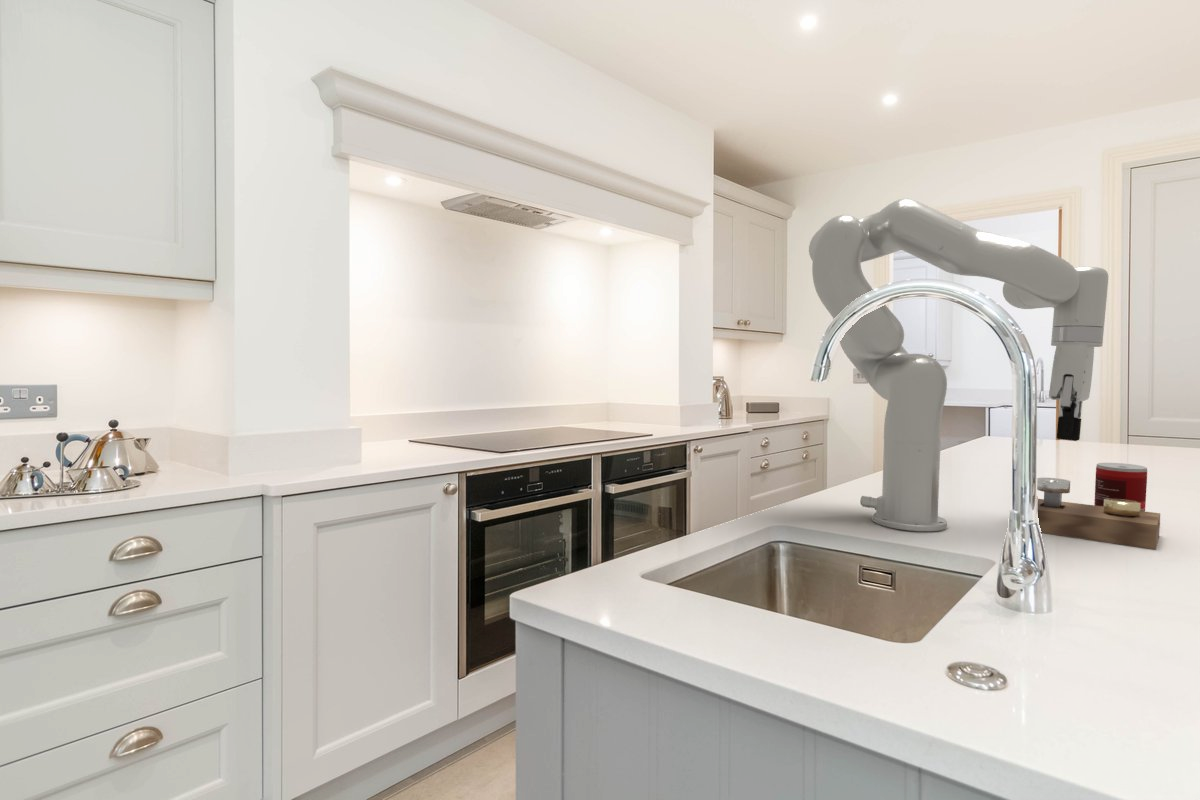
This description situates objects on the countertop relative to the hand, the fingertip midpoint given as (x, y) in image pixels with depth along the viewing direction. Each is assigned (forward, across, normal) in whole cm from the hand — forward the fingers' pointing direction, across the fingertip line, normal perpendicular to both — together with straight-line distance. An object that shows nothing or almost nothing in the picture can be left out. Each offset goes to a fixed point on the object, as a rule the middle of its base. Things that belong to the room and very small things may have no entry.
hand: (1067, 439), depth 120 cm
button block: (+16, -1, +4) cm, 17 cm away
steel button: (+14, -1, -1) cm, 14 cm away
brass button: (+16, -1, +9) cm, 18 cm away
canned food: (+16, -15, +7) cm, 23 cm away
